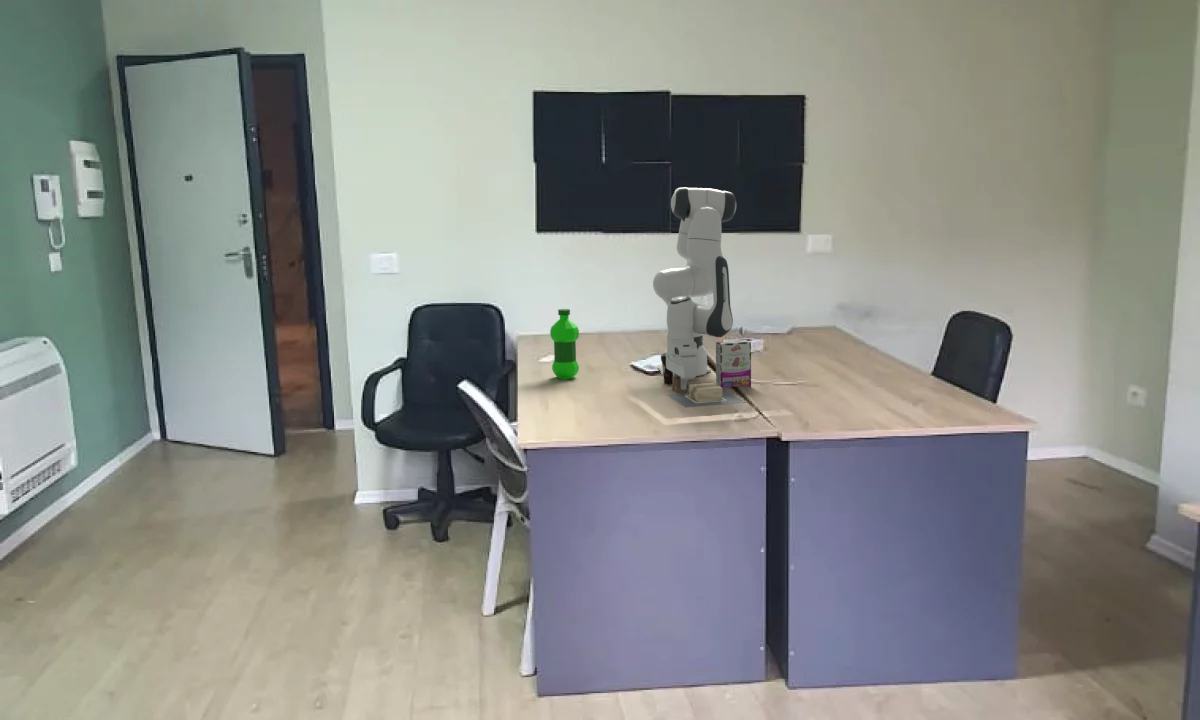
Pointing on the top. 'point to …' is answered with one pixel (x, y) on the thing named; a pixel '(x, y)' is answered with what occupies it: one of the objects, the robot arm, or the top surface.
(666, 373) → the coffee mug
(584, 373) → the top surface
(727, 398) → the board
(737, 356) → the candy bar box
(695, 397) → the maple base block
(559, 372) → the plastic bottle
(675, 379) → the walnut block
